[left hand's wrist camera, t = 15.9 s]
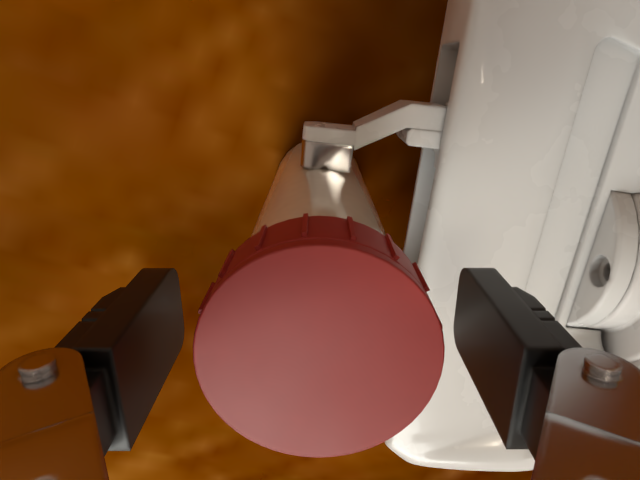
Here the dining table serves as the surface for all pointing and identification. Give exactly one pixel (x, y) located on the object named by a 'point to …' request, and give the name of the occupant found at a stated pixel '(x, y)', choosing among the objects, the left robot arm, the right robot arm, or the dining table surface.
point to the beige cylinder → (317, 194)
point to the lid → (318, 338)
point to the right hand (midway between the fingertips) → (295, 219)
